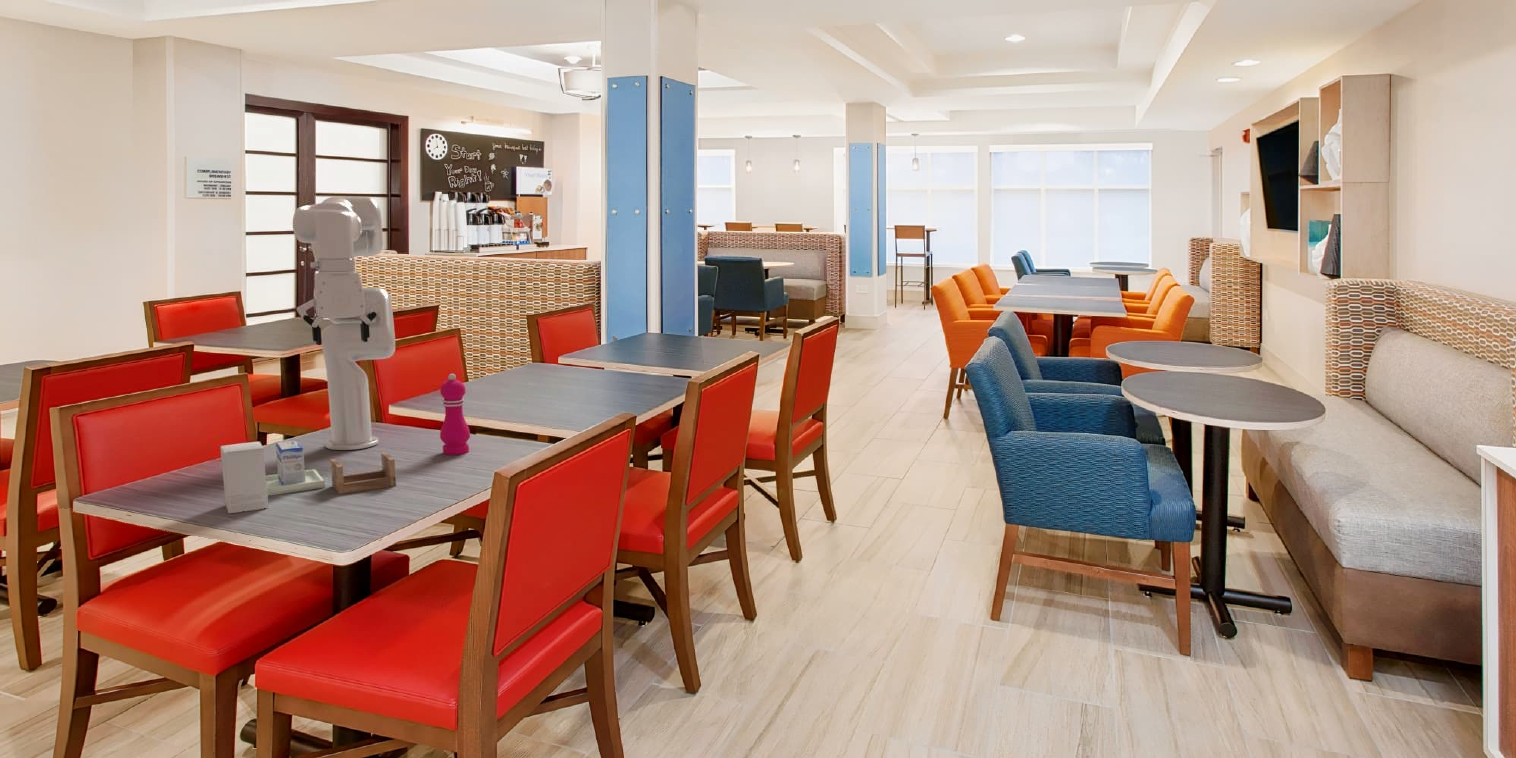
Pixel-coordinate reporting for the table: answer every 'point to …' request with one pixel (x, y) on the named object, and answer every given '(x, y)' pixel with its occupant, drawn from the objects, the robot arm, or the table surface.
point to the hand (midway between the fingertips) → (341, 342)
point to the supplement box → (244, 477)
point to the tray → (311, 482)
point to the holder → (364, 477)
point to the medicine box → (290, 463)
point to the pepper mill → (454, 418)
